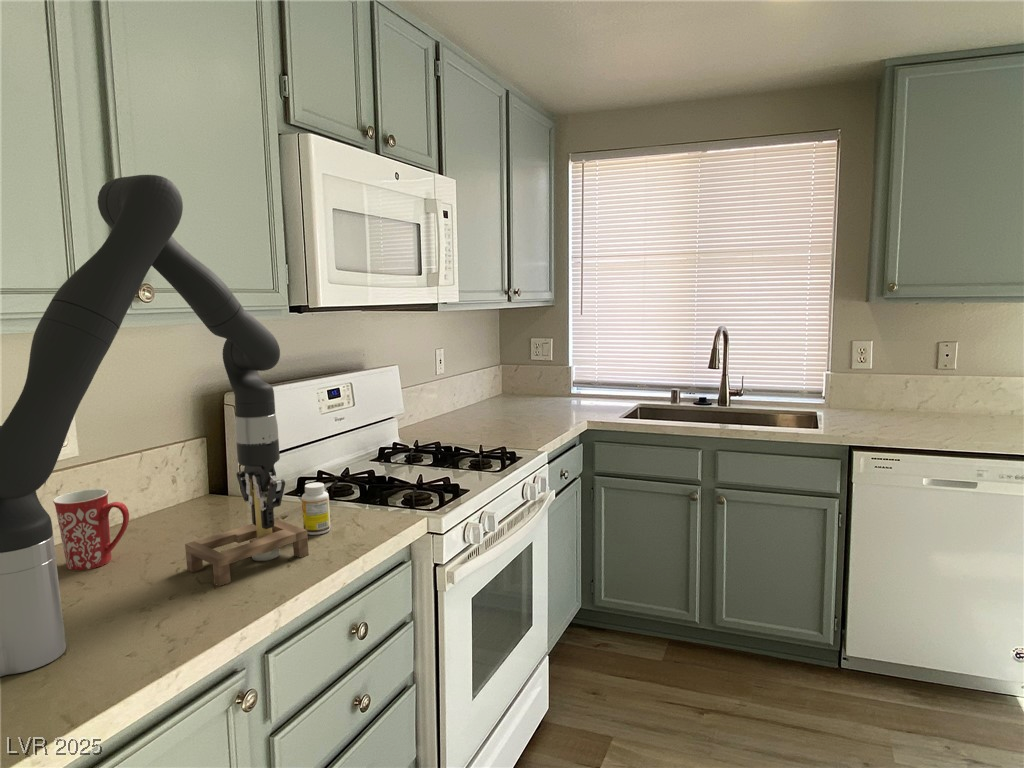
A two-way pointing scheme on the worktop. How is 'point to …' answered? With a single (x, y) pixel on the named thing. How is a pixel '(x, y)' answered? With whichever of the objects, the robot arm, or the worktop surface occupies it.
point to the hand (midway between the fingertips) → (263, 525)
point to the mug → (87, 527)
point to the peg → (262, 532)
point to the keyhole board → (242, 547)
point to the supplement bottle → (316, 509)
